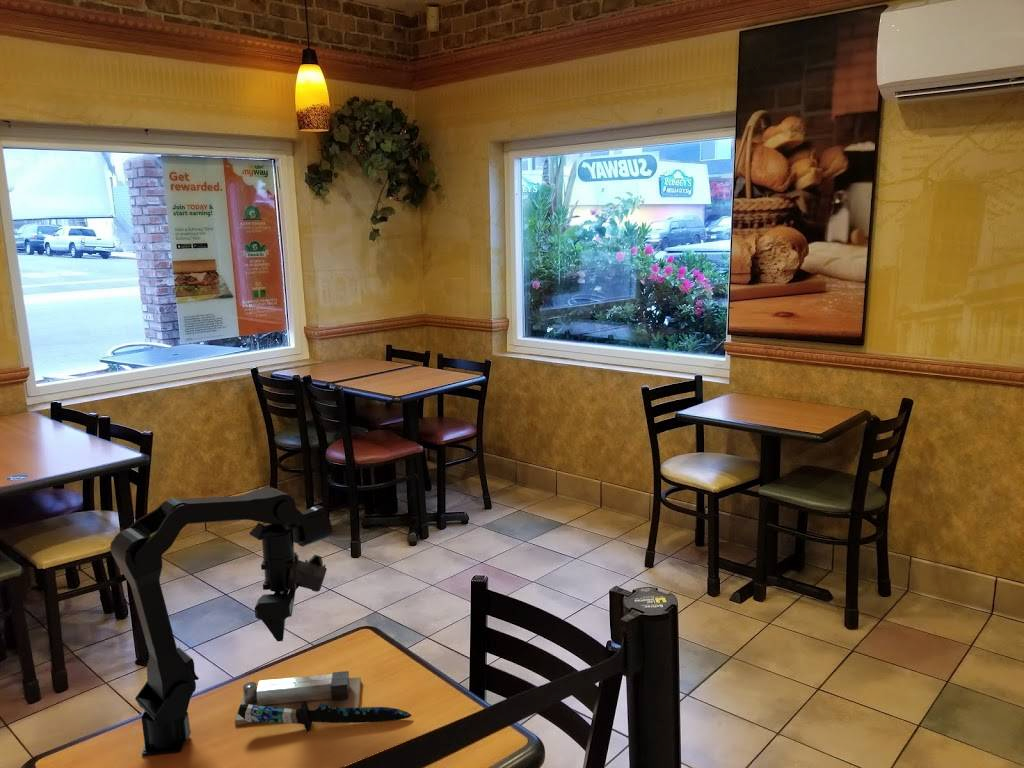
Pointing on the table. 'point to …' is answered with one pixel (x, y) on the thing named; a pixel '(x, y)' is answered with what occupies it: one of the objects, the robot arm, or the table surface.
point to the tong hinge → (250, 693)
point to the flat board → (316, 701)
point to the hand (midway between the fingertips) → (284, 628)
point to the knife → (319, 714)
